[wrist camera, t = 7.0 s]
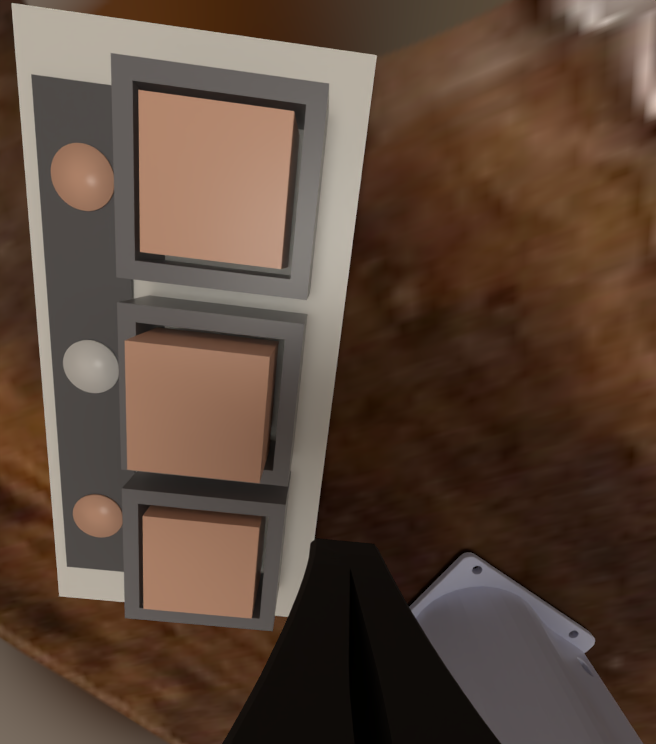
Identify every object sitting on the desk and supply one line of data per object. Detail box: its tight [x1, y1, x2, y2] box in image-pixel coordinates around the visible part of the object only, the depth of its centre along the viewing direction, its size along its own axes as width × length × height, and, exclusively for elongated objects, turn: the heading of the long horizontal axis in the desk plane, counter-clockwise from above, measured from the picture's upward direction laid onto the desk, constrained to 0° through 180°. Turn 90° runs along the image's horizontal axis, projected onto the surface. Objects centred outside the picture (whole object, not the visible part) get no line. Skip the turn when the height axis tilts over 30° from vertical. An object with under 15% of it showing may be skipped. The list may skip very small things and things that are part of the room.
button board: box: [12, 3, 377, 631], centre depth 16 cm, size 24×12×4 cm, turn 173°
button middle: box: [125, 327, 279, 483], centre depth 14 cm, size 4×4×2 cm
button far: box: [143, 505, 266, 619], centre depth 17 cm, size 4×4×2 cm
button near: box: [138, 90, 300, 269], centre depth 13 cm, size 4×4×2 cm
